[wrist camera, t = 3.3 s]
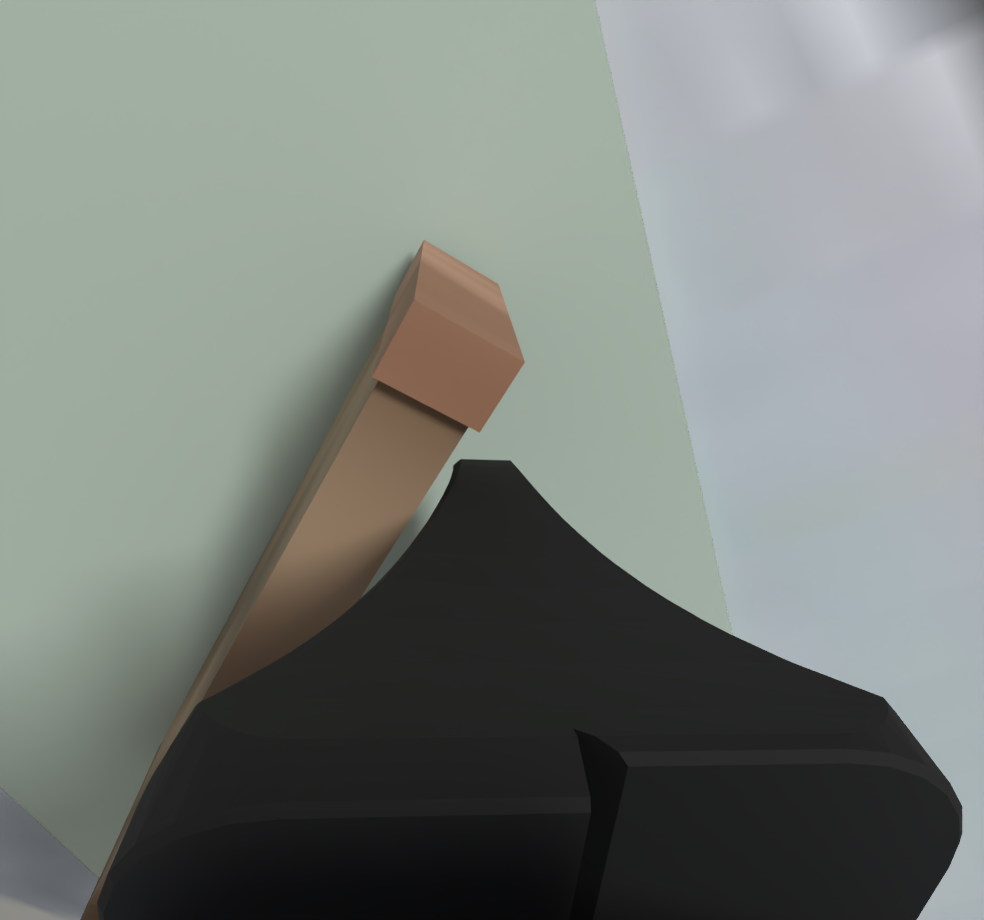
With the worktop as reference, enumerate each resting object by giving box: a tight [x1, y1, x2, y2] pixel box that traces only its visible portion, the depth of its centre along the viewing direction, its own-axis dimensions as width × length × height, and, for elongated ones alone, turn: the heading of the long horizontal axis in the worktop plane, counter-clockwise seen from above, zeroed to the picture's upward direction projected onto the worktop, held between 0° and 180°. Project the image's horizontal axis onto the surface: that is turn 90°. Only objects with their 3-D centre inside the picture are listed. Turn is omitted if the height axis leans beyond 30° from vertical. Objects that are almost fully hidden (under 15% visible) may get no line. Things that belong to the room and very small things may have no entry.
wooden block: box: [81, 240, 525, 920], centre depth 11 cm, size 14×1×4 cm, turn 149°
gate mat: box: [0, 0, 733, 878], centre depth 13 cm, size 21×18×1 cm
